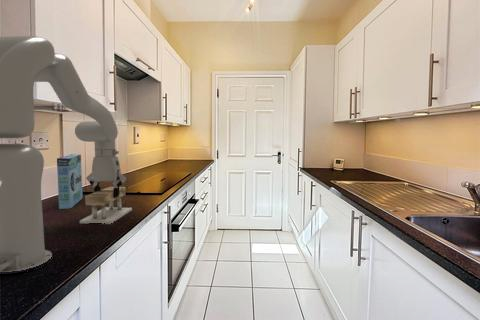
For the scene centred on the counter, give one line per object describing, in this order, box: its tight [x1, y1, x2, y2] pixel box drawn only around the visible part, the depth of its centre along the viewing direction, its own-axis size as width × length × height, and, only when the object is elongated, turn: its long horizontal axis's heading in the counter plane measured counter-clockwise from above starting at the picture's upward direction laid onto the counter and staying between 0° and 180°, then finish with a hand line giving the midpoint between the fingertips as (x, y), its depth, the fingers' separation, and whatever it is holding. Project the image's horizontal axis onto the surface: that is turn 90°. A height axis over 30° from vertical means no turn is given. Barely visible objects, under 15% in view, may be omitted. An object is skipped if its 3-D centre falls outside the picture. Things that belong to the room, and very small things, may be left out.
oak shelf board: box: [84, 186, 127, 206], centre depth 115 cm, size 18×7×4 cm, turn 177°
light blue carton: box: [56, 153, 84, 210], centre depth 134 cm, size 20×5×23 cm, turn 14°
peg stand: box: [79, 197, 133, 225], centre depth 116 cm, size 19×12×6 cm, turn 178°
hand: (107, 196), depth 116 cm, fingers closed on oak shelf board, 7 cm apart
